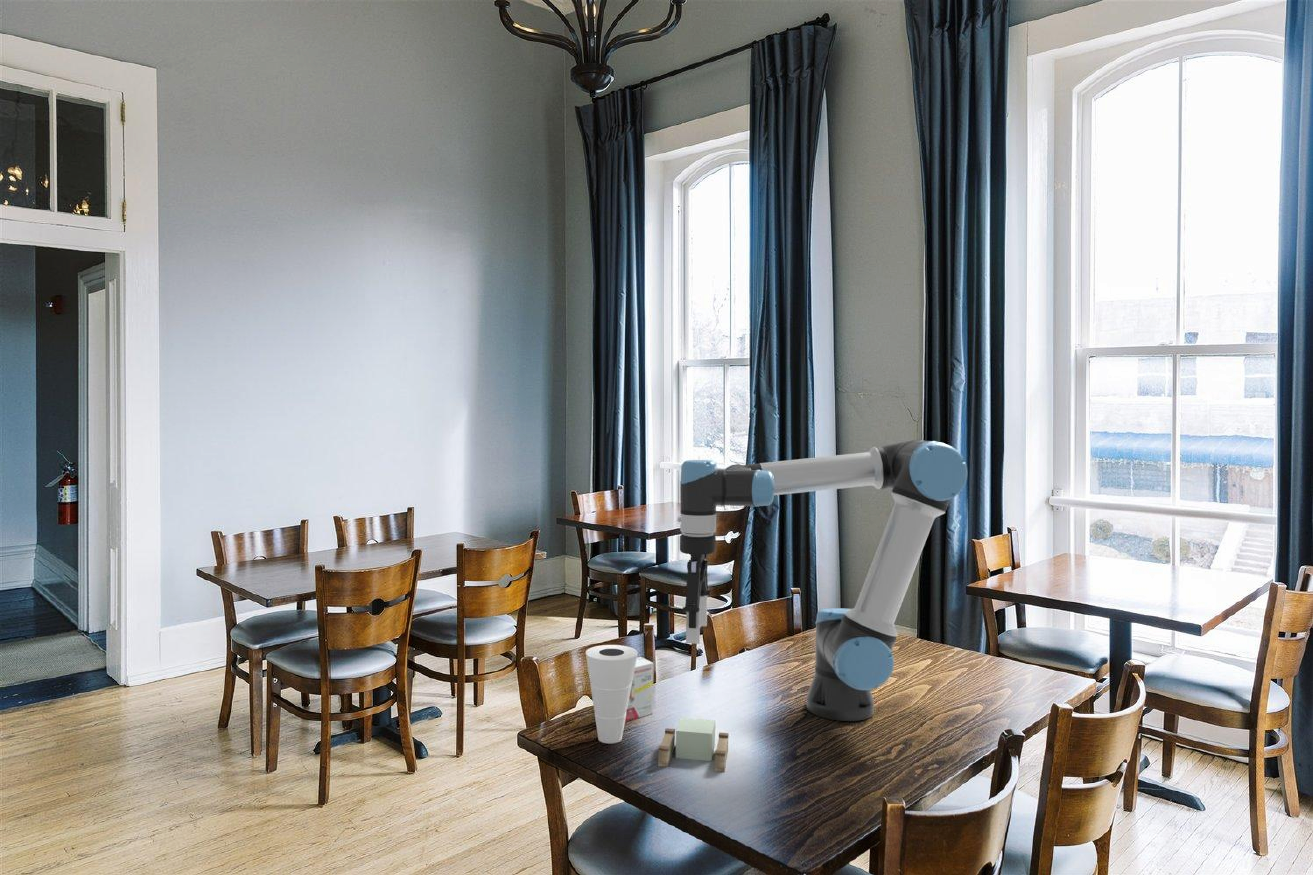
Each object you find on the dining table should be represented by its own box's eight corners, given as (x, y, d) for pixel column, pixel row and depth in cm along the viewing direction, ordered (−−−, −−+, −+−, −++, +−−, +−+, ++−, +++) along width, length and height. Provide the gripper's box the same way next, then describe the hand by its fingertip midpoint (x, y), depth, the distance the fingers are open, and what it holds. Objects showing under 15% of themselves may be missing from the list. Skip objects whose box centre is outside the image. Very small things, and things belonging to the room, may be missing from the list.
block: (714, 747, 170) (715, 720, 170) (711, 761, 163) (711, 733, 163) (680, 744, 171) (681, 717, 171) (675, 758, 165) (676, 730, 164)
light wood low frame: (728, 750, 168) (728, 733, 168) (724, 771, 159) (725, 753, 158) (665, 745, 170) (665, 728, 170) (658, 766, 160) (658, 747, 160)
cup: (577, 732, 176) (578, 647, 175) (624, 725, 180) (626, 642, 179) (593, 752, 166) (595, 662, 165) (643, 744, 170) (645, 656, 170)
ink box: (623, 722, 182) (624, 668, 182) (609, 715, 186) (610, 663, 185) (653, 714, 187) (654, 661, 187) (640, 707, 191) (641, 656, 191)
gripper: (687, 524, 189) (686, 618, 190) (671, 542, 165) (670, 649, 166) (721, 525, 188) (719, 619, 189) (709, 544, 164) (708, 652, 164)
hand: (696, 634), depth 177 cm, fingers open, 13 cm apart
